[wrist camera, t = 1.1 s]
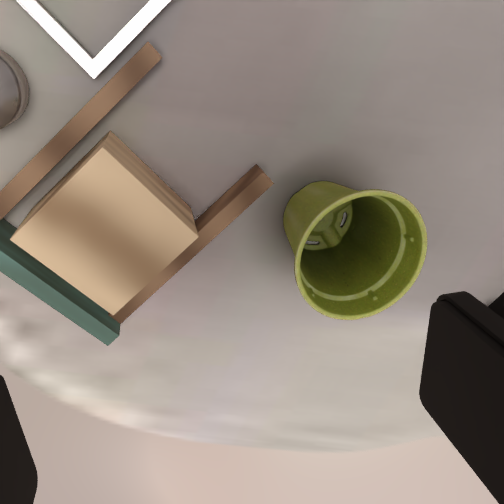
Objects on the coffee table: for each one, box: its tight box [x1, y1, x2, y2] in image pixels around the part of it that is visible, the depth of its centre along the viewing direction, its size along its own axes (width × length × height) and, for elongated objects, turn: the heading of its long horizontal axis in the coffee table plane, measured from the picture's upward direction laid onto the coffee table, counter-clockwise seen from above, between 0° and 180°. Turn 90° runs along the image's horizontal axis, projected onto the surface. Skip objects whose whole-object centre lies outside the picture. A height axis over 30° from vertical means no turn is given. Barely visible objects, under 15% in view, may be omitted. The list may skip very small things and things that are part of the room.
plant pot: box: [283, 181, 427, 320], centre depth 33 cm, size 9×9×9 cm
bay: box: [0, 42, 274, 346], centre depth 31 cm, size 17×12×6 cm
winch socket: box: [0, 0, 172, 129], centre depth 26 cm, size 16×8×5 cm, turn 131°
